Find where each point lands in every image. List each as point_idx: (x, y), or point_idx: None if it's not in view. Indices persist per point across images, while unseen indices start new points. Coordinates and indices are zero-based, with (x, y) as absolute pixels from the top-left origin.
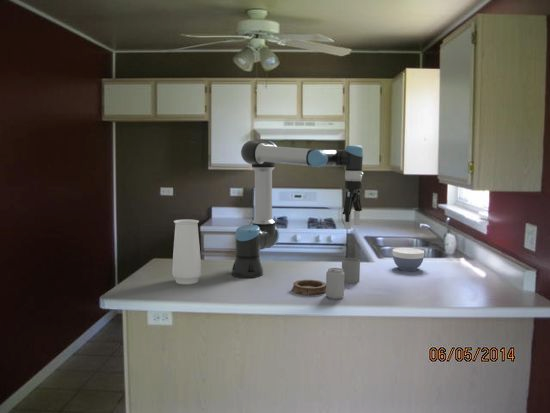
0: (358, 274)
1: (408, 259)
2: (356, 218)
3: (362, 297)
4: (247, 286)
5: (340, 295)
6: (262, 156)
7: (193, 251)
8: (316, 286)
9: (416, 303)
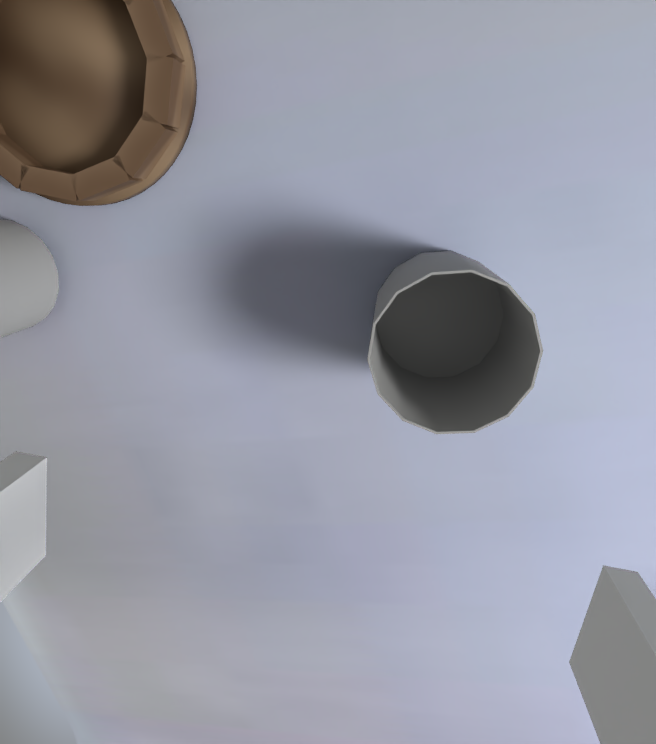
0: (414, 388)
1: None
2: (643, 736)
3: (81, 424)
4: None
5: None
6: None
7: None
8: (135, 114)
9: (96, 661)
